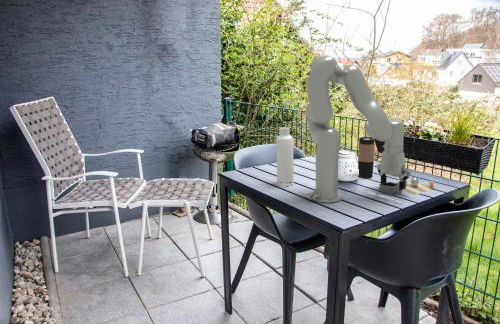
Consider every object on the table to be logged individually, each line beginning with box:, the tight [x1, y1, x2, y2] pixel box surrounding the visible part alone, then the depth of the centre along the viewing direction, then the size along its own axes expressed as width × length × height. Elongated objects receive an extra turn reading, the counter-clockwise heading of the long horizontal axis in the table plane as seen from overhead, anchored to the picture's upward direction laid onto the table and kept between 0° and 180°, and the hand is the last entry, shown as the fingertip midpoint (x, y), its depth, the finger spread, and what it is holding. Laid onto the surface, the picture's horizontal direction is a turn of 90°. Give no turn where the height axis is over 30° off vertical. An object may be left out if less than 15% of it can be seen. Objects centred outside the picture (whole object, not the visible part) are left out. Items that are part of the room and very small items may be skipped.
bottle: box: [275, 126, 294, 187], centre depth 186 cm, size 8×8×28 cm
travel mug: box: [357, 136, 376, 179], centre depth 195 cm, size 8×8×20 cm
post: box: [410, 176, 419, 188], centre depth 175 cm, size 3×3×4 cm
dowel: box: [428, 180, 435, 190], centre depth 172 cm, size 2×2×4 cm
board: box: [402, 180, 436, 195], centre depth 175 cm, size 15×13×1 cm
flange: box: [378, 181, 408, 196], centre depth 172 cm, size 13×7×4 cm, turn 122°
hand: (392, 186), depth 170 cm, fingers open, 9 cm apart
